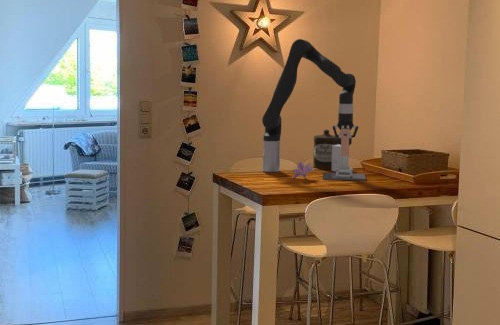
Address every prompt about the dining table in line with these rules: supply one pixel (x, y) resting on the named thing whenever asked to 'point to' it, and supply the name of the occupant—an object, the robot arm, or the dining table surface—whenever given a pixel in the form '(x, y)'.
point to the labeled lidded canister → (324, 150)
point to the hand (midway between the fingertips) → (344, 145)
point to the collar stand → (344, 175)
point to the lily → (302, 170)
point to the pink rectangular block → (345, 142)
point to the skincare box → (338, 158)
